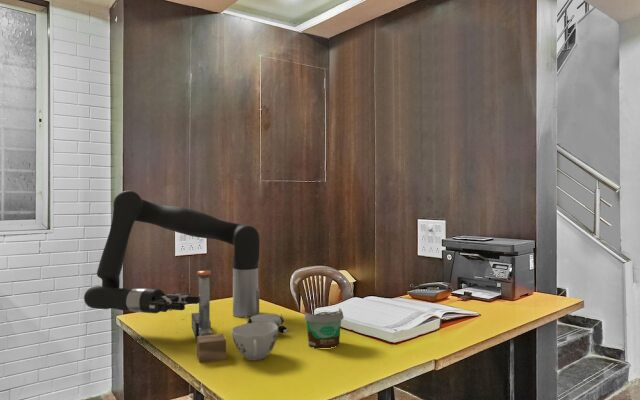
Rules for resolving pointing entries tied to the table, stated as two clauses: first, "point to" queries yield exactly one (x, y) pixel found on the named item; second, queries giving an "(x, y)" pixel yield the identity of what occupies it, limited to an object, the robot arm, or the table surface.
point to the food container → (324, 329)
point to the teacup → (255, 339)
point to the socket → (211, 348)
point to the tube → (204, 303)
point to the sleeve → (196, 321)
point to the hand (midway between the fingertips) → (191, 303)
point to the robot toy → (269, 320)
